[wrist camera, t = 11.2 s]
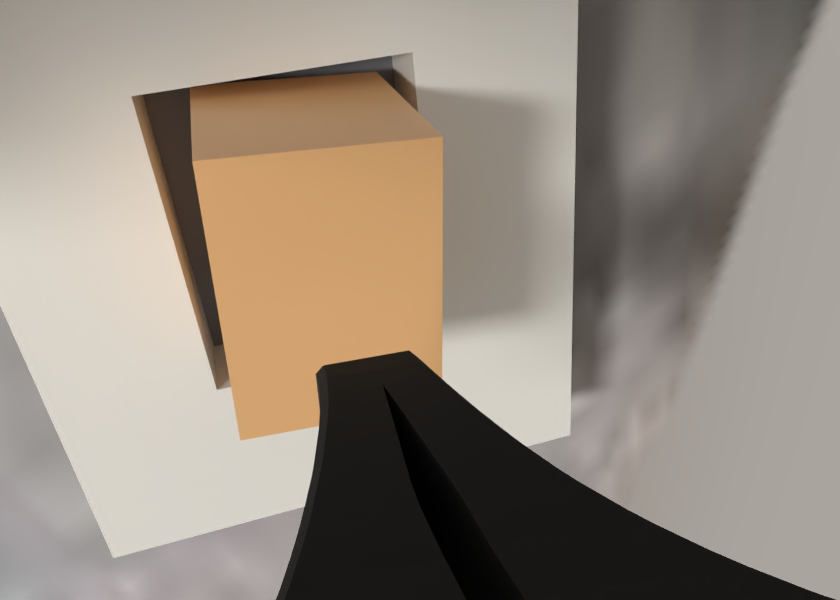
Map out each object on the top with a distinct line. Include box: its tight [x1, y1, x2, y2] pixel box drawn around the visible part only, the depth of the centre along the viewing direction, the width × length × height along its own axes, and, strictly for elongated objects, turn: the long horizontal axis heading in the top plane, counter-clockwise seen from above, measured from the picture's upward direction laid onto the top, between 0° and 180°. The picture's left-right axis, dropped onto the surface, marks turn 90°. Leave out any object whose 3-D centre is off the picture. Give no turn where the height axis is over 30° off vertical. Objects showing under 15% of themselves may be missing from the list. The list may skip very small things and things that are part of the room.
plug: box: [190, 72, 443, 441], centre depth 15 cm, size 4×6×6 cm
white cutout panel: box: [0, 0, 578, 558], centre depth 17 cm, size 13×16×3 cm
